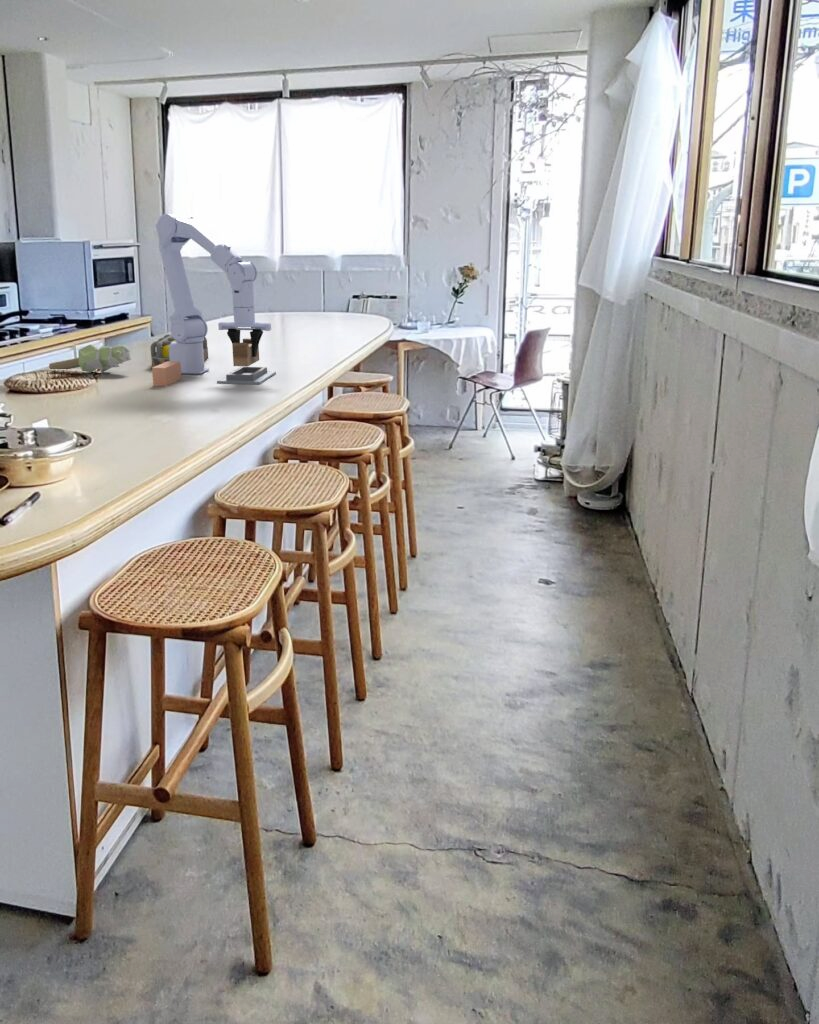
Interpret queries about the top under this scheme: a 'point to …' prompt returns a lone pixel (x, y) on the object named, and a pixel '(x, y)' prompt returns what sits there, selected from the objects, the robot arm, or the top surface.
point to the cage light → (162, 353)
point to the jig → (247, 375)
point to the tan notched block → (244, 353)
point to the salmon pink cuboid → (166, 373)
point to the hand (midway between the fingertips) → (246, 356)
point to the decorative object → (95, 358)
